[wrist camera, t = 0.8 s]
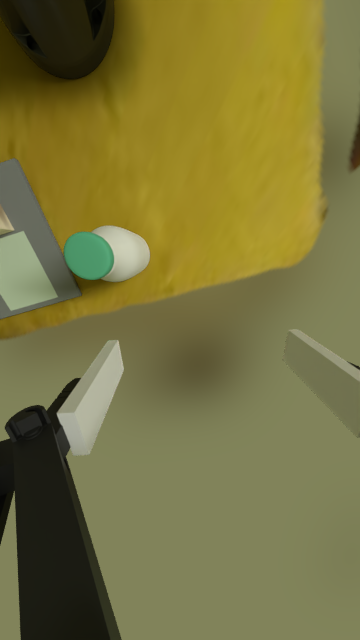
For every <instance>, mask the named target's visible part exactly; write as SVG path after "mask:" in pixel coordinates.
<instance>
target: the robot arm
mask: <svg viewBox="0 0 360 640" xmlns="http://www.w3.org/2000/svg"><path fill="white" fill-rule="evenodd" d="M0 16H1V18H2V19H3V21H4V23H5V24H6V26H7V28H8V29H9V31H10V32H11V34H12V35H13V36H14V38H15V39H16V40H17V42H18V43H19V44H20V46H21V47H22V48H23V50H24V51H25V52H26V54H27V55H28V56H29V57H30V58H31V59H32V60H33V61H34V62H35V63H36V64H37V65H38V66H40V67H41V68H42V69H44V70H45V71H47V72H48V73H50V74H52V75H55V76H58V77H61V78H67V79H74V78H80V77H83V76H85V75H87V74H89V73H90V72H92V71H93V70H94V69H95V68H96V67H97V66H98V65H99V64H100V63H101V61H102V60H103V58H104V56H105V54H106V52H107V50H108V48H109V45H110V42H111V38H112V33H113V26H114V0H0ZM283 361H284V362H285V363H286V364H287V365H288V366H289V367H290V368H291V369H292V370H293V372H295V374H296V375H297V376H298V377H299V378H300V379H301V380H302V381H303V382H304V383H305V384H306V385H307V386H308V387H309V388H310V389H311V390H312V391H313V392H314V393H315V394H316V395H317V397H318V398H320V400H321V401H322V402H323V403H324V404H325V405H326V406H327V407H328V408H329V409H330V410H331V411H332V412H333V413H334V414H335V415H336V416H337V417H338V418H339V419H340V420H341V421H342V422H343V424H345V426H346V427H347V428H348V429H349V430H350V431H351V432H352V433H353V434H354V435H355V436H356V437H360V367H359V366H356V365H354V364H352V363H349V362H346V361H345V360H343V359H342V358H340V357H339V356H337V355H336V354H334V353H333V352H331V351H330V350H328V349H327V348H325V347H324V346H322V345H321V344H319V343H318V342H316V341H314V340H313V339H312V338H310V337H309V336H307V335H306V334H304V333H303V332H301V331H300V330H288V334H287V340H286V345H285V350H284V355H283ZM123 371H124V368H123V362H122V358H121V352H120V347H119V342H118V340H108V341H107V343H106V344H105V346H104V347H103V348H102V350H101V351H100V353H99V354H98V355H97V357H96V358H95V360H94V361H93V362H92V364H91V365H90V367H89V368H88V370H87V371H86V372H85V374H84V375H83V377H82V378H75V379H74V380H72V381H71V382H70V383H68V384H67V385H66V387H65V388H64V389H63V390H62V393H60V394H59V395H58V397H57V399H55V401H54V402H53V403H52V405H51V406H50V407H49V408H48V410H47V411H46V410H45V408H44V407H43V406H40V405H35V406H31V407H28V408H25V409H23V410H21V411H20V412H18V413H17V414H15V415H14V416H13V417H11V418H10V419H9V421H8V422H7V423H6V426H5V430H6V432H7V433H8V435H9V437H10V439H7V440H4V441H1V442H0V544H1V540H2V536H3V532H4V529H5V525H6V521H7V517H8V513H9V509H10V505H11V501H12V497H13V493H14V491H15V508H16V533H17V558H18V582H19V607H20V632H21V640H121V637H120V633H119V630H118V627H117V623H116V620H115V616H114V613H113V610H112V607H111V603H110V600H109V597H108V593H107V590H106V587H105V583H104V581H103V577H102V573H101V570H100V567H99V564H98V560H97V557H96V554H95V550H94V548H93V544H92V540H91V537H90V534H89V531H88V527H87V524H86V521H85V518H84V514H83V511H82V508H81V504H80V501H79V498H78V494H77V491H76V488H75V484H74V481H73V478H72V475H71V471H70V468H69V465H68V461H67V459H66V455H67V453H68V451H69V449H70V448H71V451H72V453H73V455H74V456H75V455H89V454H90V452H91V449H92V447H93V444H94V442H95V439H96V437H97V434H98V432H99V429H100V427H101V425H102V422H103V420H104V417H105V415H106V412H107V410H108V407H109V405H110V403H111V400H112V398H113V395H114V393H115V390H116V388H117V385H118V383H119V381H120V378H121V375H122V373H123Z"/></svg>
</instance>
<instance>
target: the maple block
mask: <svg viewBox="0 0 360 640" xmlns="http://www.w3.org/2000/svg"><path fill="white" fill-rule="evenodd" d="M11 231H14V228H13V227H12V225H11V223H10V221H9V219H8V217H7V215H6V214H5V212H4V210H3V208H2V206H1V204H0V235H2V234H5V233H8V232H11Z"/></svg>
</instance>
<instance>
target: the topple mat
mask: <svg viewBox="0 0 360 640" xmlns="http://www.w3.org/2000/svg"><path fill="white" fill-rule="evenodd" d="M0 204H1V206H2V208H3V210H4V212H5V214H6V215H7V217H8V219H9V221H10V223H11V225H12V227H13V228H14V231H11V232H8V233H5V234H2V235H0V319H2V318H5V317H9V316H12V315H16V314H19V313H23V312H26V311H30V310H33V309H37V308H40V307H43V306H47V305H50V304H54V303H57V302H61V301H64V300H68V299H71V298H75V297H78V296H81V295H82V294H81V292H80V290H79V288H78V285H77V283H76V281H75V279H74V277H73V275H72V273H71V271H70V269H69V267H68V265H67V264H66V261H65V258H64V256H63V254H62V252H61V250H60V248H59V246H58V243H57V241H56V239H55V237H54V235H53V233H52V231H51V229H50V227H49V225H48V222H47V220H46V218H45V216H44V214H43V212H42V210H41V208H40V206H39V204H38V201H37V199H36V197H35V195H34V193H33V191H32V189H31V187H30V185H29V183H28V180H27V178H26V176H25V174H24V172H23V170H22V168H21V166H20V164H19V162H18V160H16V159H15V158H13V159H10V160H8V161H5V162H2V163H0Z"/></svg>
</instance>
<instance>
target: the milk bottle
mask: <svg viewBox="0 0 360 640" xmlns="http://www.w3.org/2000/svg"><path fill="white" fill-rule="evenodd" d="M64 258H65V261H66V264H67V265H68V267H69V268H70V270H71V271H72V272H73V273H74V274H76V275H77V276H79V277H81V278H83V279H87V280H96V279H100V278H101V279H103V280H105V281H110V282H121V281H125V280H127V279H129V278H131V277H133V276H135V275H137V274H138V273H140V272H141V271H143V270H144V269H145V268H146V266H147V265H148V263H149V259H150V251H149V247H148V245H147V243H146V242H145V240H144V239H143V238H142V237H140V236H139V235H137V234H135V233H133V232H130V231H128V230H126V229H123V228H120V227H116V226H102V227H99V228H96V229H95V230H93V231H92V232H78V233H76V234H74V235H72V236H71V237H69V239H68V240H67V241H66V243H65V246H64Z"/></svg>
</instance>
